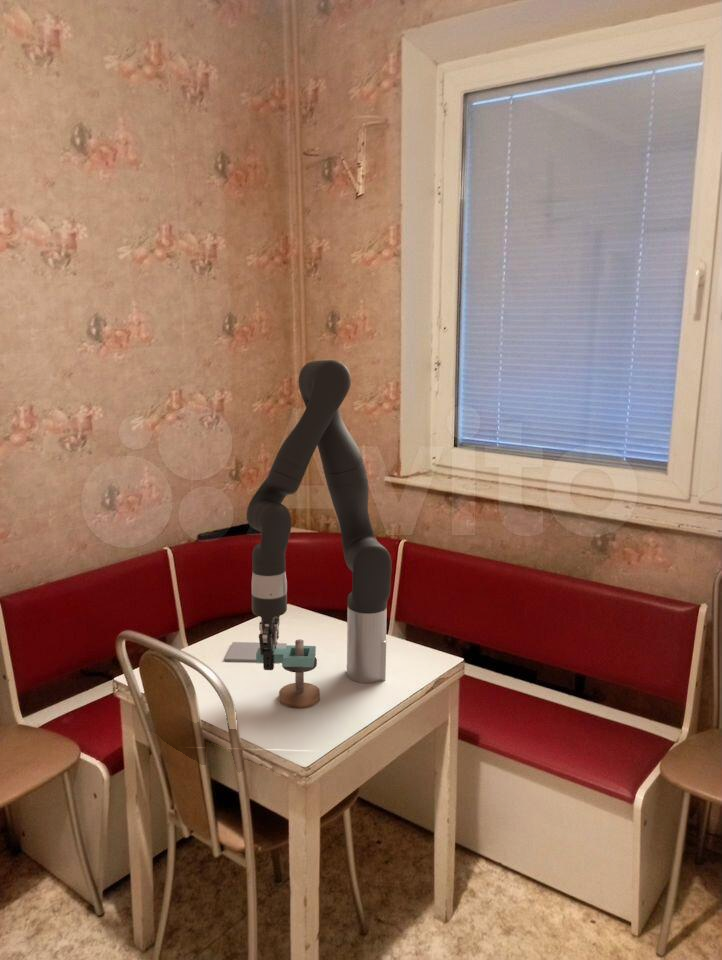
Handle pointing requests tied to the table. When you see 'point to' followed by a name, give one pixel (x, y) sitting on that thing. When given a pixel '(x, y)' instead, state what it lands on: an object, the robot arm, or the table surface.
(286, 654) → the teal square frame paddle
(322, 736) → the table surface
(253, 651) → the mat
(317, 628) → the table surface
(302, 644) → the stand
